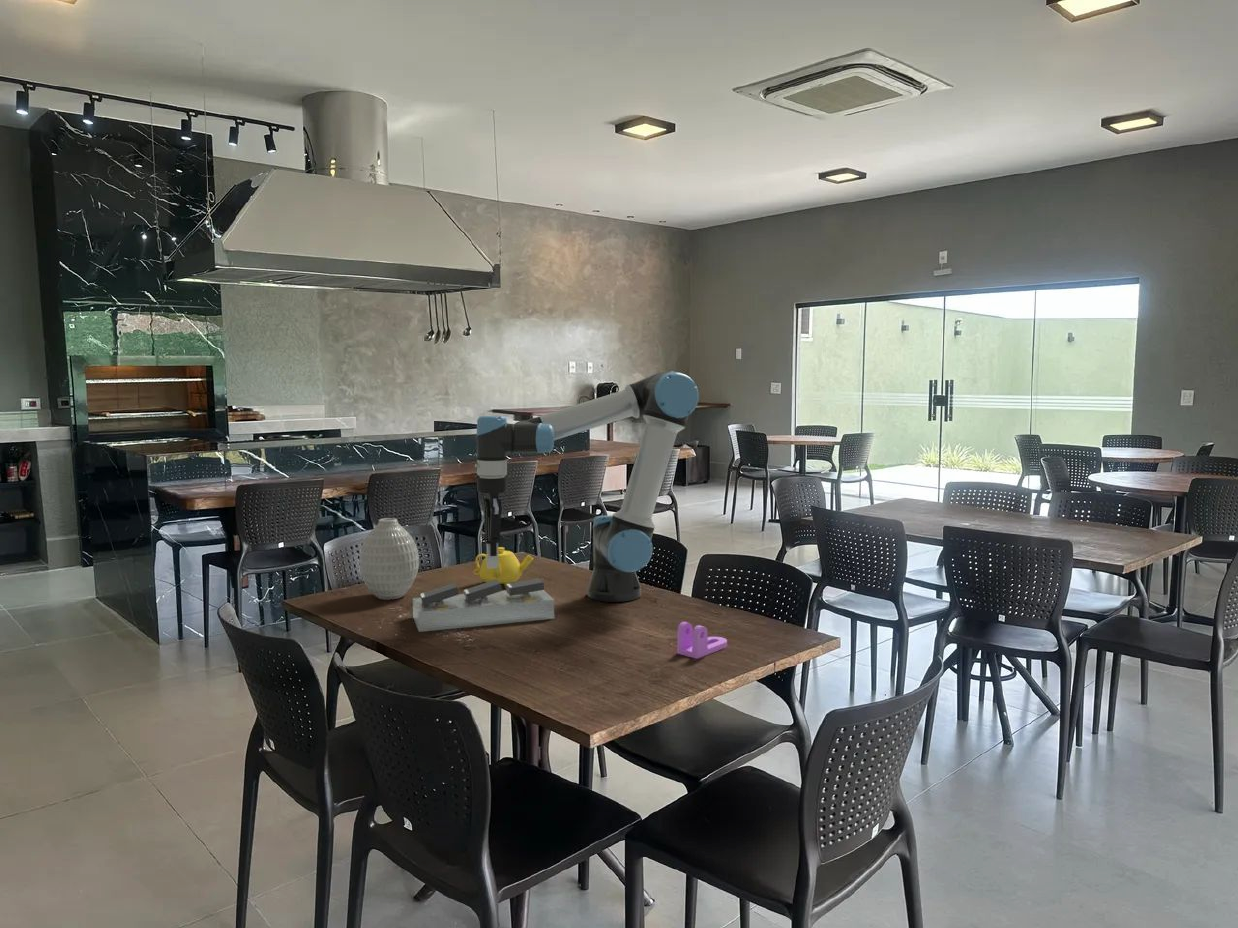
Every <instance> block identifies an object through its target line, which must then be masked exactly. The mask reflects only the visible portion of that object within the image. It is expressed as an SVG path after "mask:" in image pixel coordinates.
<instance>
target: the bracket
mask: <svg viewBox="0 0 1238 928" xmlns="http://www.w3.org/2000/svg"><path fill="white" fill-rule="evenodd" d="M676 631H677V632H676V633H677V634H676V637H677V639H676V641H677V648H676V649H677V650H676V653H677V655H682V656H685V657H689V658H693V659H696V660H698V659H701V658H703V657H706V656H708V655H710V654H714V653H715V652H718V651H720V650H724V649H726V648H728V639H727V638H724V637H720V636H708V634H709V633H708V628H707V627H706V626H703V625H700V624H699V625H696V626H694V628H693V625H692V624H691V622H687V621H682V622H680V623H679V624H678V627H677V630H676Z"/></svg>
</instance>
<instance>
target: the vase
mask: <svg viewBox="0 0 1238 928" xmlns="http://www.w3.org/2000/svg"><path fill="white" fill-rule="evenodd" d="M419 558H420V557H419V550H418V547H417V545H416V542H415V540H414V538H413V537H412V535H411V534H410V533H409V531H407V530H406V529H405V528H404V527H403V526H402V525H401V524H400V523H399V521H398V518H395V517H386V518H380V519H379V520H378V523H377V524H376V525H375V526H374V528H373V529H372V530H371V531H370V532H369V534H368V535H367V536H366V537H365V539H364V541H363V542H362V544H361V548H360V552H359V570H360V576H361V578H362V580H363V582H364V584H365V585H366V587H367V588H368V589H369V591H370V592H371V593H372V594H373V595H374V596H375V597H376V598H377V599H379V600H385V601H388V600H390V601H391V599H392V600H397V599H400V598H403V596H405V594H406V593H407V592H408V591H409V590H410V588H411V587H412V586H413V584H414V581H415V580H416V578H417V574H418V572H419V565H420V561H419V560H420V559H419Z"/></svg>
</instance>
